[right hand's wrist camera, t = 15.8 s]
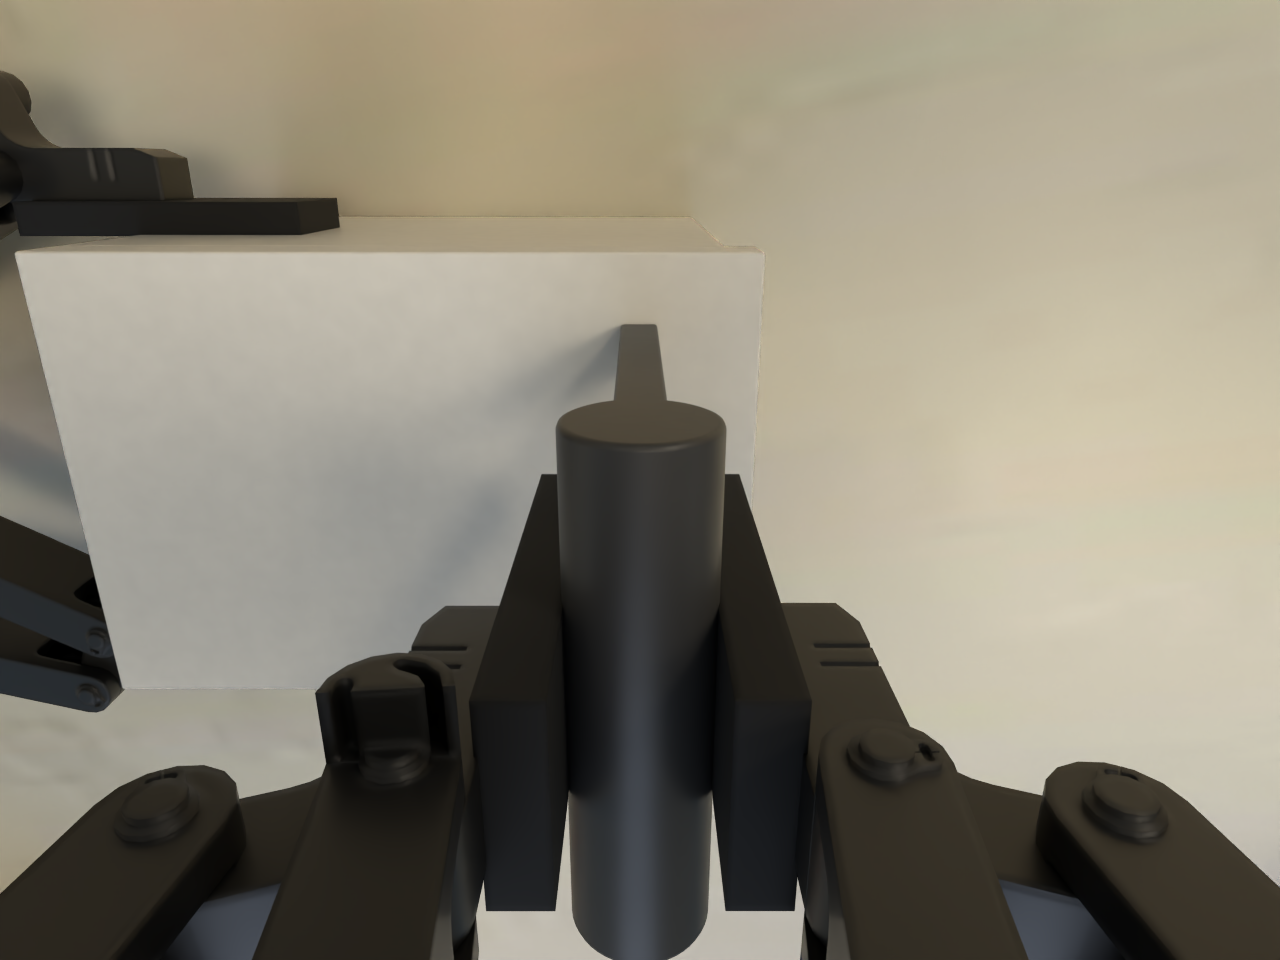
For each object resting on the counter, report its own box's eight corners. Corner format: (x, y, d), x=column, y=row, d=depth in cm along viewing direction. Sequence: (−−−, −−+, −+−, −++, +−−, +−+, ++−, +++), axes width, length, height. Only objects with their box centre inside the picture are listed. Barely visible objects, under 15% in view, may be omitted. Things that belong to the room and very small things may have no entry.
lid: (756, 246, 17) (885, 330, 8) (737, 658, 20) (813, 1031, 11) (56, 245, 17) (-568, 328, 8) (152, 659, 20) (-218, 1034, 11)
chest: (692, 216, 27) (725, 246, 17) (686, 492, 30) (711, 657, 20) (277, 215, 27) (58, 245, 17) (316, 492, 30) (153, 657, 20)
